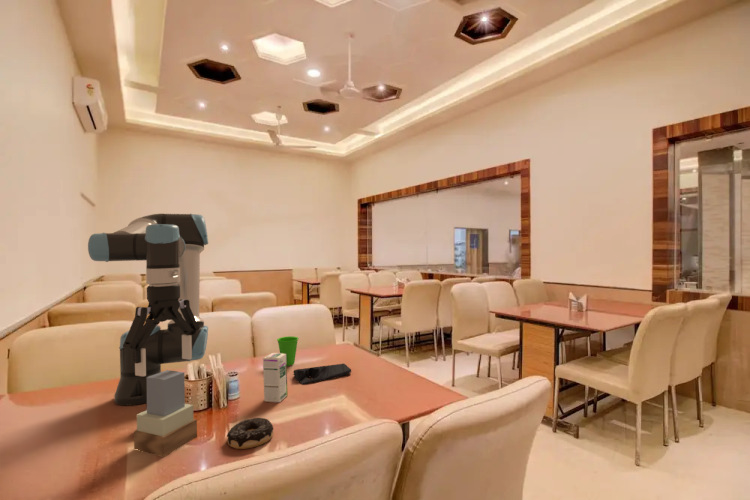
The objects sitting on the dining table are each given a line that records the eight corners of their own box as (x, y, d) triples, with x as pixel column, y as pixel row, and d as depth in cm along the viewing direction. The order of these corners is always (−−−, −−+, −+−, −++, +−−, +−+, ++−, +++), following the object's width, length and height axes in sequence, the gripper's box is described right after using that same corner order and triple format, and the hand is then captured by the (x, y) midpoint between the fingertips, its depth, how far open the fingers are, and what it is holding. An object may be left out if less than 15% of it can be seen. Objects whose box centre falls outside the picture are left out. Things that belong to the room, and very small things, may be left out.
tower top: (136, 430, 93) (136, 414, 93) (168, 415, 101) (168, 400, 101) (162, 436, 90) (162, 420, 90) (193, 420, 98) (193, 405, 98)
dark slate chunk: (355, 377, 143) (355, 365, 143) (298, 386, 135) (298, 373, 134) (342, 366, 157) (342, 355, 157) (290, 374, 149) (290, 362, 148)
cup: (276, 362, 163) (276, 337, 163) (297, 360, 165) (297, 335, 165) (277, 368, 154) (277, 342, 154) (300, 366, 157) (299, 340, 157)
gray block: (146, 413, 93) (146, 377, 94) (167, 403, 99) (167, 370, 99) (164, 416, 91) (164, 379, 91) (184, 406, 97) (184, 372, 97)
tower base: (134, 451, 93) (133, 431, 92) (168, 432, 102) (168, 414, 102) (164, 458, 89) (163, 437, 89) (197, 438, 98) (196, 419, 98)
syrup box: (280, 402, 120) (279, 357, 120) (263, 401, 121) (262, 357, 121) (287, 395, 125) (287, 352, 125) (271, 394, 126) (270, 352, 126)
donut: (281, 438, 98) (281, 423, 97) (239, 457, 89) (239, 440, 89) (259, 425, 105) (259, 411, 105) (218, 441, 96) (218, 426, 96)
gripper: (126, 291, 82) (128, 385, 83) (212, 280, 106) (213, 354, 106) (103, 289, 85) (105, 381, 85) (191, 279, 108) (193, 351, 109)
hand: (165, 366), depth 96 cm, fingers open, 13 cm apart
